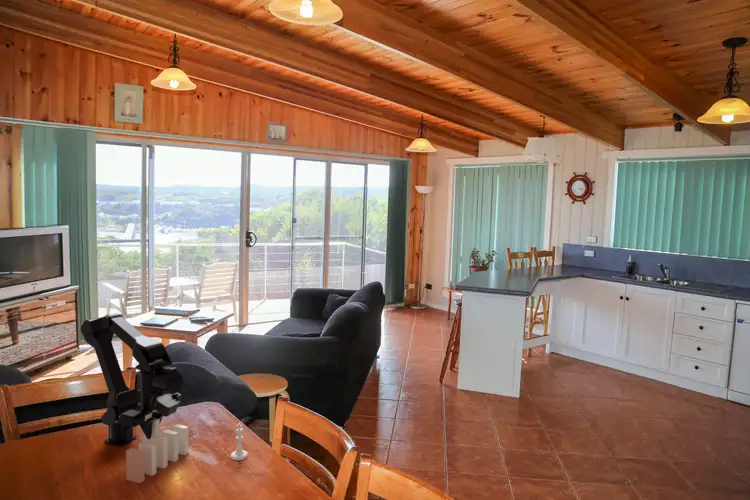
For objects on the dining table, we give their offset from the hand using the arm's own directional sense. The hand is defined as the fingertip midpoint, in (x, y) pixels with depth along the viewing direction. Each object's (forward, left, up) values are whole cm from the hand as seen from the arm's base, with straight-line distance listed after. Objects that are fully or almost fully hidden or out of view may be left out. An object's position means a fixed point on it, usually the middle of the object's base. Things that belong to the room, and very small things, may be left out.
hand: (151, 437), depth 153 cm
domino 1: (+8, -14, -4) cm, 16 cm away
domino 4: (+8, -10, -4) cm, 13 cm away
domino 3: (+8, -5, -4) cm, 10 cm away
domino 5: (+8, -1, -4) cm, 9 cm away
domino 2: (0, 0, -2) cm, 2 cm away
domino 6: (+8, +3, -4) cm, 9 cm away
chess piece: (+25, +8, -4) cm, 26 cm away
